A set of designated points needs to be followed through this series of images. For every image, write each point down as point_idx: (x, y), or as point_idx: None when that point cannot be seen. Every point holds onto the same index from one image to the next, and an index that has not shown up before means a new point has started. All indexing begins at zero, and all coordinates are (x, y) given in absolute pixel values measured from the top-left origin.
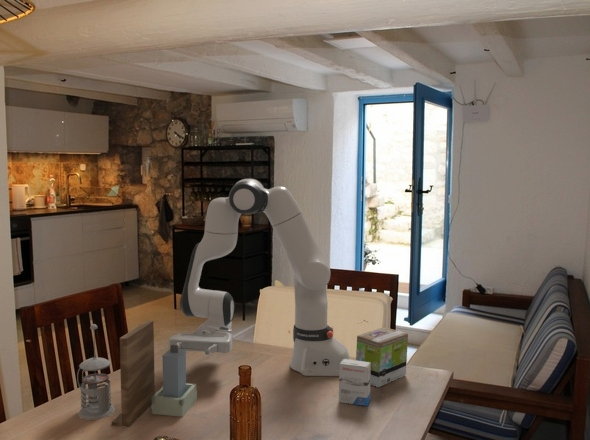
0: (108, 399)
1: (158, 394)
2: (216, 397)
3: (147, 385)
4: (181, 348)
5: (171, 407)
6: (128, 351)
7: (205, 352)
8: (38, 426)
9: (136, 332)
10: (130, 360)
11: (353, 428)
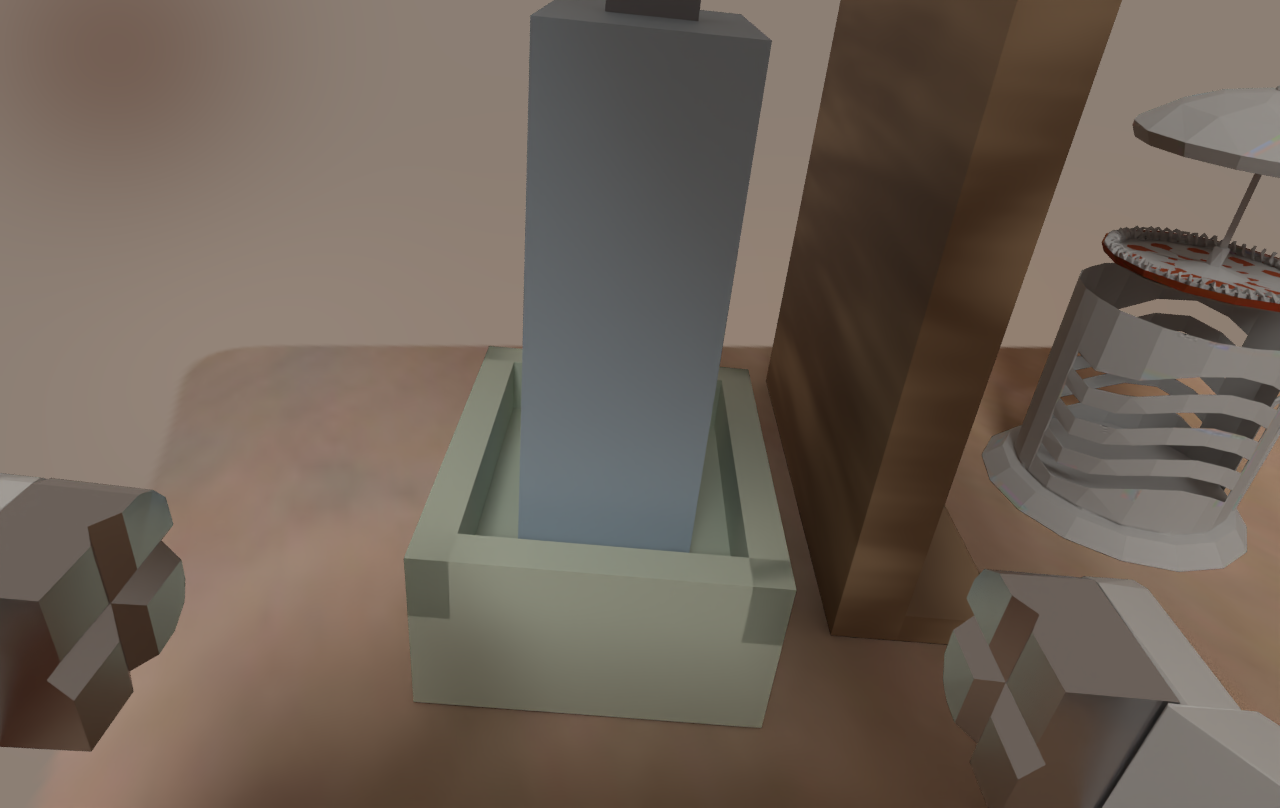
0: (1049, 395)
1: (723, 402)
2: (153, 789)
3: (847, 361)
4: (1008, 686)
5: None
6: None
7: (162, 556)
8: (1198, 383)
9: None
10: None
11: None
